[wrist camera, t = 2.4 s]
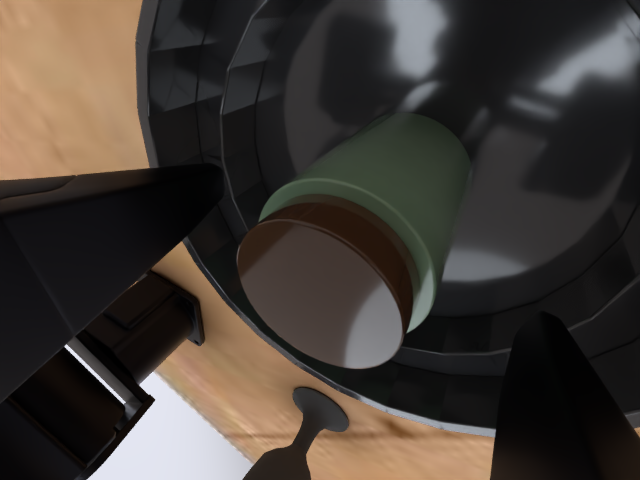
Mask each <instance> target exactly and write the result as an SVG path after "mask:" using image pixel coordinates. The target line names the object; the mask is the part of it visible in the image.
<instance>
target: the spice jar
mask: <svg viewBox="0 0 640 480" xmlns="http://www.w3.org/2000/svg"><path fill="white" fill-rule="evenodd" d="M472 184H473V173H472V167H471V162H470V159H469V157H468V154H467V152H466V150H465V148H464V146H463V145H462V143H461V142H460V141H459V139H458V138H457V137H456V136H455V135H454V134H453V133H452V132H451V131H450V130H449V129H448V128H446V127H445V126H444V125H442V124H441V123H439V122H437V121H435V120H433V119H431V118H428V117H426V116H422V115H418V114H413V113H394V114H388V115H385V116H381V117H379V118H376V119H374V120H372V121H371V122H369V123H368V124H366V125H365V126H363V127H362V128H360V129H359V130H358V131H356V132H355V133H354V134H352V135H351V136H350V137H348V138H347V139H346V140H344V141H343V142H342V143H340V144H339V145H337V146H336V147H335V148H333V149H332V150H331V151H329V152H328V153H327V154H325V155H324V156H323V157H321V158H320V159H319V160H317V161H316V162H314V163H313V164H312V165H310V166H309V167H308V168H306V169H305V170H304V171H302V172H301V173H300V174H298V175H297V176H296V177H294V178H293V179H291V180H290V181H289V182H287V183H286V184H285V185H283V186H282V187H281V188H279V189H278V190H277V191H276V192H275V193H274V194H272V195H271V196H270V198H269V199H268V201H267V202H266V203H265V205H264V207H263V210H262V212H261V215H260V218H259V222H258V223H257V224H256V225H254V226H253V227H252V228H251V229H250V230H249V231H248V232H247V233H246V234H245V236H244V237H243V238H242V241H241V243H240V245H239V248H238V252H237V271H238V275H239V279H240V282H241V285H242V288H243V290H244V292H245V294H246V296H247V298H248V299H249V301H250V303H251V304H252V306H253V307H254V309H255V310H256V312H257V313H258V314H259V315H260V317H261V318H262V319H263V320H264V321H265V322H266V323H267V325H268V326H269V327H270V328H271V329H272V330H274V331H275V332H276V333H277V334H278V335H279V336H280V337H282V338H283V339H284V340H285V341H287V342H288V343H289V344H291V345H292V346H294V347H295V348H297V349H298V350H300V351H302V352H303V353H305V354H307V355H309V356H311V357H313V358H315V359H317V360H320V361H322V362H325V363H328V364H331V365H335V366H338V367H344V368H352V369H366V368H372V367H376V366H378V365H381V364H383V363H385V362H387V361H388V360H390V359H391V358H392V357H393V356H394V355H396V353H397V352H398V351H399V349H400V348H401V346H402V343H403V341H404V338H405V336H406V333H408V332H410V331H412V330H413V329H415V328H416V327H417V326H419V325H420V324H421V323H422V322H423V321H424V320H425V319H426V317H427V316H428V315H429V313H430V311H431V309H432V307H433V305H434V302H435V299H436V296H437V293H438V290H439V287H440V284H441V281H442V278H443V275H444V272H445V269H446V266H447V263H448V260H449V257H450V254H451V251H452V248H453V245H454V243H455V240H456V237H457V234H458V231H459V228H460V225H461V222H462V219H463V216H464V213H465V210H466V207H467V204H468V201H469V198H470V194H471V191H472Z"/></svg>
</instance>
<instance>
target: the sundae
mask: <svg viewBox="0 0 640 480" xmlns="http://www.w3.org/2000/svg"><path fill="white" fill-rule="evenodd" d="M293 400H294V402H295V404H296V406H297V407H298V408H299V409H300V411H301V412H302V413H303V421H302V425H301V428H300V430H299V432H298V434H297V436H296V438H295V439H294V441H293V443H292V444H291V445H290V446H287V447H284V448H276V449H273V450H271V451H268V452H266V453H264V454H263V455H262V456H261V458H260V459H259V460H258V461H257V462H256V463H255V464H254V466H253V467H252V468H251V469H250V471H249V472H248V473H247V474H246V476H245V477H244V478H243V480H311V476H310V471H309V468H308V465H307V460H306V454H307V451H308V449H309V447H310V445H311V443H312V442H313V440H314V438H315V437H316V435H317V434H318V433H319V432H320V431H321V430H323V429H328V430H330V431H335V432H343V431H345V430H347V428H348V426H349V424H348V420H347V417H346V415H345V414H344V412H343V411H342V410H341V408H340V407H339V406H338V405H337V404H336V403H334V402H333V401H332V400H331V399H329V398H328V397H326V396H325V395H323V394H321V393H320V392H317V391H315V390H312V389H309V388H297V389H295V390H294V392H293Z"/></svg>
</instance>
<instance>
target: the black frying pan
mask: <svg viewBox="0 0 640 480" xmlns="http://www.w3.org/2000/svg"><path fill="white" fill-rule="evenodd" d="M135 48H136V83H137V109H138V115H139V120H140V125H141V129H142V134H143V138H144V143H145V148H146V152H147V157H148V162H149V166H150V168H158V167H169V166H180V165H191V164H202V163H212V164H215V165H217V166H219V167H221V168H222V169H223V171H224V187H225V192H224V196H223V198H222V199H221V200H220V201H219V202H218V203H217V205H216V206H215V207H214V208H213V209H212V210H211V211H210V212H209V213H208V215H207V216H206V217H205V218H204V219H203V220H202V221H201V222H200V223H199V224H198V226H197V227H196V228H195V229H194V230H193V231H192V232H191V233H190V234H189V235H188V236H187V237H185V238H184V239H183V240H182V241H183V243H184V245H185V246H186V248H187V250H188V252H189V253H190V255H191V257H192V259H193V260H194V262H195V263H196V265H197V266H198V268H199V269H200V270H201V272H202V273H203V274H204V275H205V277H206V278H207V279H208V281H209V282H210V283H211V285H212V286H213V287H214V288H215V290H216V291H217V292H218V294H219V295H220V296H221V298H222V299H223V300H224V301H226V304H227V305H228V306H229V307H230V308H231V309H232V310H233V311H234V312H235V313H236V314H237V315H238V316H239V317H240V318H241V319H242V320H243V321H244V322H245V323H246V324H247V325H248V326H249V327H250V328H251V329H252V330H253V331H254V332H255V333H256V334H257V335H259V337H261V338H262V339H263V340H264V341H266V342H267V343H268V344H269V345H271V346H272V347H273V348H275V349H276V350H277V351H278V352H280V353H281V354H282V355H283V356H285V357H286V358H287V359H289V360H290V361H291V362H292V363H294V364H295V365H297V366H298V367H299V368H301V369H303V370H304V371H306V372H308V373H309V374H311V375H313V376H314V377H316V378H318V379H319V380H321V381H323V382H324V383H326V384H327V385H329V386H331V387H332V388H334V389H336V390H337V391H340V392H341V393H344V394H346V395H348V396H350V397H352V398H355V399H357V400H359V401H361V402H364V403H366V404H368V405H370V406H373V407H375V408H377V409H379V410H381V411H384V412H387V413H389V414H392V415H395V416H399V417H402V418H405V419H409V420H412V421H415V422H419V423H422V424H426V425H429V426H432V427H436V428H439V429H443V430H448V431H454V432H461V433H468V434H474V435H481V436H488V437H495V432H496V423H497V414H498V405H499V398H500V392H501V388H502V384H503V380H504V376H505V372H506V368H507V364H508V360H509V357H510V353H511V349H512V345H513V341H514V337H515V335H516V333H517V331H518V330H519V329H520V328H521V327H522V326H523V325H524V324H525V323H526V321H527V320H528V319H529V318H530V317H531V316H532V315H533V314H534V313H535V312H537V311H539V310H543V311H545V312H547V313H550V314H552V315H554V316H556V317H558V318H560V319H561V321H562V322H563V323H564V325H565V326H566V328H567V329H568V331H569V332H570V334H571V335H572V337H573V338H574V340H575V341H576V343H577V344H578V346H579V347H580V349H581V350H582V352H583V353H584V355H585V356H586V358H587V359H588V361H589V362H590V364H591V365H592V367H593V368H594V370H595V371H596V373H597V374H598V376H599V377H600V379H601V380H602V382H603V383H604V385H605V386H606V388H607V389H608V391H609V392H610V394H611V395H612V397H613V398H614V400H615V401H616V403H617V404H618V406H619V407H620V409H621V410H622V412H623V413H624V415H625V416H626V418H627V419H628V421H629V422H630V424H631V425H632V427H633V428H639V427H640V0H143V1H142V6H141V12H140V17H139V22H138V27H137V33H136V42H135ZM394 113H413V114H418V115H422V116H426V117H428V118H431V119H433V120H435V121H437V122H439V123H441V124H442V125H444V126H445V127H446V128H448V129H449V130H450V131H451V132H452V133H453V134H454V135H455V136H456V137H457V138H458V139H459V141H460V142H461V143H462V145H463V146H464V148H465V150H466V152H467V154H468V157H469V159H470V162H471V167H472V173H473V184H472V191H471V194H470V198H469V201H468V204H467V207H466V210H465V213H464V216H463V219H462V222H461V225H460V228H459V231H458V234H457V237H456V240H455V243H454V245H453V248H452V251H451V254H450V257H449V260H448V263H447V266H446V269H445V272H444V275H443V278H442V281H441V284H440V287H439V290H438V293H437V296H436V299H435V302H434V305H433V307H432V309H431V311H430V313H429V315H428V316H427V317H426V319H425V320H424V321H423V322H422V323H421V324H420V325H419V326H417V327H416V328H415V329H413V330H412V331H410V332H408V333H406V336H405V338H404V341H403V343H402V346H401V348H400V349H399V351H398V352H397V353H396V355H394V356H393V357H392V358H391V359H390V360H388V361H387V362H385V363H383V364H381V365H378V366H376V367H372V368H366V369H352V368H344V367H338V366H335V365H331V364H328V363H325V362H322V361H320V360H317V359H315V358H313V357H311V356H309V355H307V354H305V353H303V352H302V351H300V350H298V349H297V348H295V347H294V346H292V345H291V344H289V343H288V342H287V341H285V340H284V339H283V338H282V337H280V336H279V335H278V334H277V333H276V332H275V331H274V330H272V329H271V328H270V327H269V326H268V325H267V323H266V322H265V321H264V320H263V319H262V318H261V317H260V315H259V314H258V313H257V312H256V310H255V309H254V307H253V306H252V304H251V303H250V301H249V299H248V298H247V296H246V294H245V292H244V290H243V288H242V285H241V282H240V279H239V275H238V271H237V252H238V248H239V245H240V243H241V241H242V238H243V237H244V236H245V234H246V233H247V232H248V231H249V230H250V229H251V228H252V227H253V226H254V225H256V224H257V223H258V222H259V218H260V215H261V212H262V210H263V207H264V205H265V203H266V202H267V201H268V199H269V198H270V196H271V195H272V194H274V193H275V192H276V191H277V190H278V189H279V188H281V187H282V186H283V185H285V184H286V183H287V182H289V181H290V180H291V179H293V178H294V177H296V176H297V175H298V174H300V173H301V172H302V171H304V170H305V169H306V168H308V167H309V166H310V165H312V164H313V163H314V162H316V161H317V160H319V159H320V158H321V157H323V156H324V155H325V154H327V153H328V152H329V151H331V150H332V149H333V148H335V147H336V146H337V145H339V144H340V143H342V142H343V141H344V140H346V139H347V138H348V137H350V136H351V135H352V134H354V133H355V132H356V131H358V130H359V129H360V128H362V127H363V126H365V125H366V124H368V123H369V122H371V121H372V120H374V119H376V118H379V117H381V116H385V115H388V114H394Z"/></svg>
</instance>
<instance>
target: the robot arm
mask: <svg viewBox="0 0 640 480" xmlns="http://www.w3.org/2000/svg"><path fill="white" fill-rule="evenodd" d="M224 192H225V187H224V171H223V169H222V168H221V167H219V166H217V165H215V164H212V163H202V164H191V165H180V166H169V167H158V168H147V169H137V170H126V171H115V172H104V173H93V174H82V175H77V176H76V175H71V176H60V177H48V178H35V179H18V180H0V480H86V479H88V478H89V477H90V476H91V475H92V474H93V473H94V472H95V471H96V470H97V469H98V468H99V467H100V466H101V465H102V464H103V463H104V462H105V461H106V460H107V458H108V457H109V456H110V455H111V454H112V453H113V451H114V450H115V449H116V448H117V446H118V445H119V444H120V443H121V442H122V440H123V439H124V438H125V437H126V436H127V434H128V433H129V432H130V431H131V429H132V428H133V427H134V426H135V424H136V423H137V422H138V421H139V420H140V418H141V417H142V416H143V415H144V413H145V412H146V411H147V410H148V409H149V407H150V406H151V405H152V404H153V402H154V401H155V399H154V398H153V397H152V396H151V395H148V394H147V393H146V392H145V391H144V390H143V389H142V388H141V387H140V386H139V384H140V383H141V382H142V381H143V380H144V379H145V378H146V377H147V376H149V374H151V373H152V372H153V371H154V370H155V369H156V368H157V367H158V366H159V365H160V364H161V363H162V362H163V361H164V360H165V359H166V358H167V357H168V356H169V355H170V354H171V353H172V352H173V351H174V350H175V349H176V348H177V347H178V346H179V345H180V344H181V343H183V342H184V341H185V340H186V339H188V340H190V341H191V342H193V343H195V344H196V345H198V346H201V345H202V344H203V343H204V337H203V331H202V324H201V318H200V311H199V305H198V302H197V300H196V299H195V298H194V297H192V296H191V295H189V294H187V293H186V292H184V291H182V290H181V289H179V288H177V287H176V286H174V285H172V284H171V283H169V282H167V281H166V280H164V279H162V278H161V277H159V276H157V275H156V274H154V273H152V272H151V271H149V270H150V269H151V268H152V267H153V266H154V265H155V264H156V263H157V262H159V261H160V260H161V259H162V258H163V257H164V256H165V255H166V254H168V253H169V252H170V251H171V250H172V249H173V248H174V247H175V246H176V245H178V244H179V243H180V242H181V241H182V240H183V239H184V238H185V237H187V236H188V235H189V234H190V233H191V232H192V231H193V230H194V229H195V228H196V227H197V226H198V224H199V223H200V222H201V221H202V220H203V219H204V218H205V217H206V216H207V215H208V213H209V212H210V211H211V210H212V209H213V208H214V207H215V206H216V205H217V203H218V202H219V201H220V200H221V199H222V198H223V196H224ZM137 280H138V282H137V283H136V284H134V283H135V282H136V281H137ZM133 284H134V285H133ZM132 285H133V286H132ZM128 288H129V289H128ZM66 344H67V345H68V346H69V347H70V348H71V349H72V350H73V351H74V352H75V353H77V354H78V355H79V356H80V357H81V358H82V359H83V360H84V361H85V362H86V363H87V364H88V365H89V366H90V367H91V368H92V369H93V370H94V371H95V372H96V373H97V374H98V375H99V376H100V377H101V378H102V379H103V380H104V381H105V382H106V383H107V384H108V385H109V386H110V387H111V388H112V389H113V390H114V391H115V392H116V393H117V394H118V395H119V396H120V397H121V398H122V399H123V400H124V401H125V402H126V403H125V404H122V403H121V402H120V401H119V400H118V399H117V398H116V397H115V396H114V395H113V394H112V393H111V392H110V391H109V390H108V389H107V388H106V387H105V386H104V385H103V384H102V383H101V382H100V381H99V380H98V379H97V378H96V377H95V376H94V375H92V374H91V373H90V371H88V370H87V369H86V368H85V367H84V366H83V365H82V364H81V363H80V362H79V361H78V360H77V359H76V358H75V357H74V356H73V355H72V354H71V353H70V352H69V351H68V350H67V349H66V348H65V347H64V346H65V345H66ZM490 480H640V437H639V436H638V434H637V433H636V431H635V430H634V428H633V427H632V425H631V424H630V422H629V421H628V419H627V418H626V416H625V415H624V413H623V412H622V410H621V409H620V407H619V406H618V404H617V403H616V401H615V400H614V398H613V397H612V395H611V394H610V392H609V391H608V389H607V388H606V386H605V385H604V383H603V382H602V380H601V379H600V377H599V376H598V374H597V373H596V371H595V370H594V368H593V367H592V365H591V364H590V362H589V361H588V359H587V358H586V356H585V355H584V353H583V352H582V350H581V349H580V347H579V346H578V344H577V343H576V341H575V340H574V338H573V337H572V335H571V334H570V332H569V331H568V329H567V328H566V326H565V325H564V323H563V322H562V321H561V319H560V318H558V317H556V316H554V315H552V314H550V313H547V312H545V311H543V310H539V311H537V312H535V313H534V314H533V315H532V316H531V317H530V318H529V319H528V320H527V321H526V323H525V324H524V325H523V326H522V327H521V328H520V329H519V330H518V331H517V333H516V335H515V337H514V341H513V345H512V349H511V353H510V357H509V360H508V364H507V368H506V372H505V376H504V380H503V384H502V388H501V392H500V398H499V405H498V414H497V423H496V432H495V441H494V450H493V458H492V467H491V476H490Z"/></svg>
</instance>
